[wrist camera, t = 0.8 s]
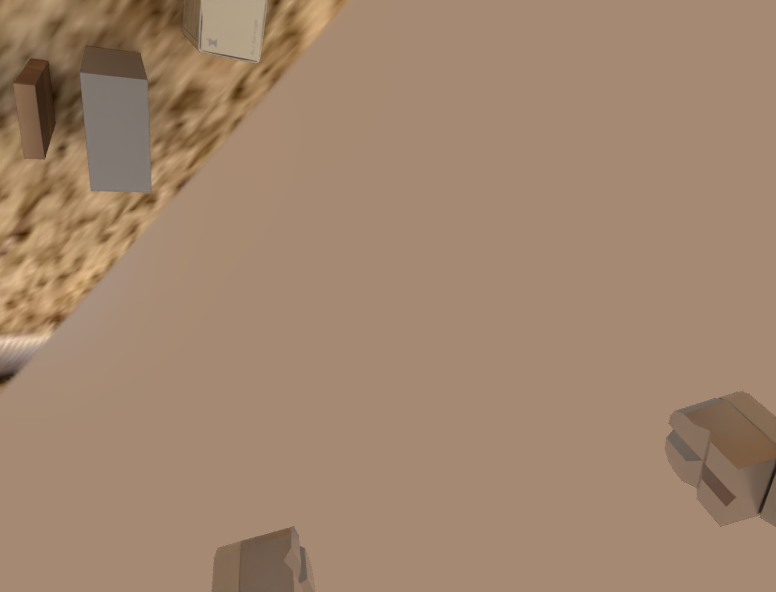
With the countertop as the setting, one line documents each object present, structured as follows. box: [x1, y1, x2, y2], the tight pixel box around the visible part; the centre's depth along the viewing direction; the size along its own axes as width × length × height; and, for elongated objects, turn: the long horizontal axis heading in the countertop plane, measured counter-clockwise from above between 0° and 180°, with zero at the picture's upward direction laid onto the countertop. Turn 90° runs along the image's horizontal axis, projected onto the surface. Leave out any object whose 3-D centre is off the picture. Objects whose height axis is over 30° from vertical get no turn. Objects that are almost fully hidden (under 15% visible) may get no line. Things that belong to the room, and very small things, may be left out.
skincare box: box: [182, 0, 267, 63], centre depth 40 cm, size 6×4×12 cm
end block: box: [80, 46, 152, 193], centre depth 42 cm, size 8×4×12 cm, turn 169°
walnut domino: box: [13, 59, 56, 159], centre depth 40 cm, size 1×5×10 cm, turn 169°
